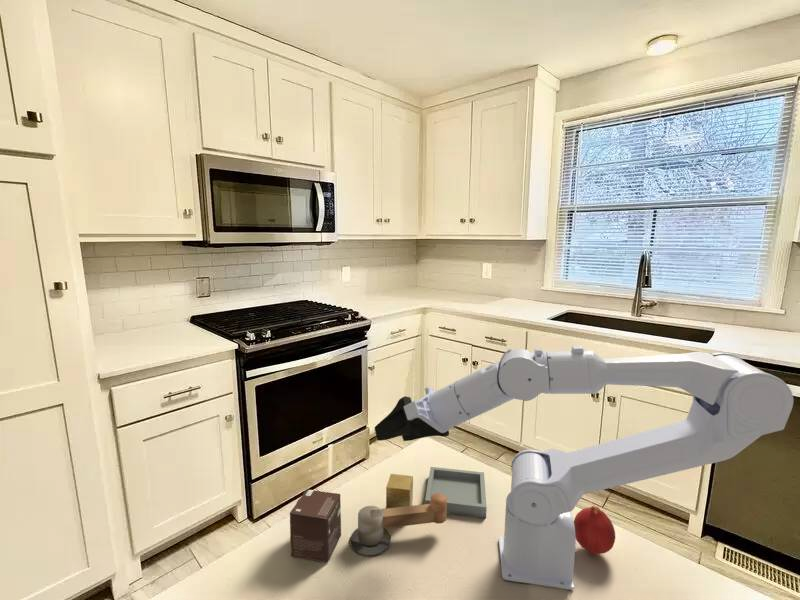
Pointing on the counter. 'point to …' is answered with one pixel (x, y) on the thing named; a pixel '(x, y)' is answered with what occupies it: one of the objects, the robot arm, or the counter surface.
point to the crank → (398, 518)
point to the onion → (594, 530)
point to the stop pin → (399, 491)
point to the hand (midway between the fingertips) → (390, 434)
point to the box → (315, 525)
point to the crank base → (370, 550)
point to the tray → (459, 490)
